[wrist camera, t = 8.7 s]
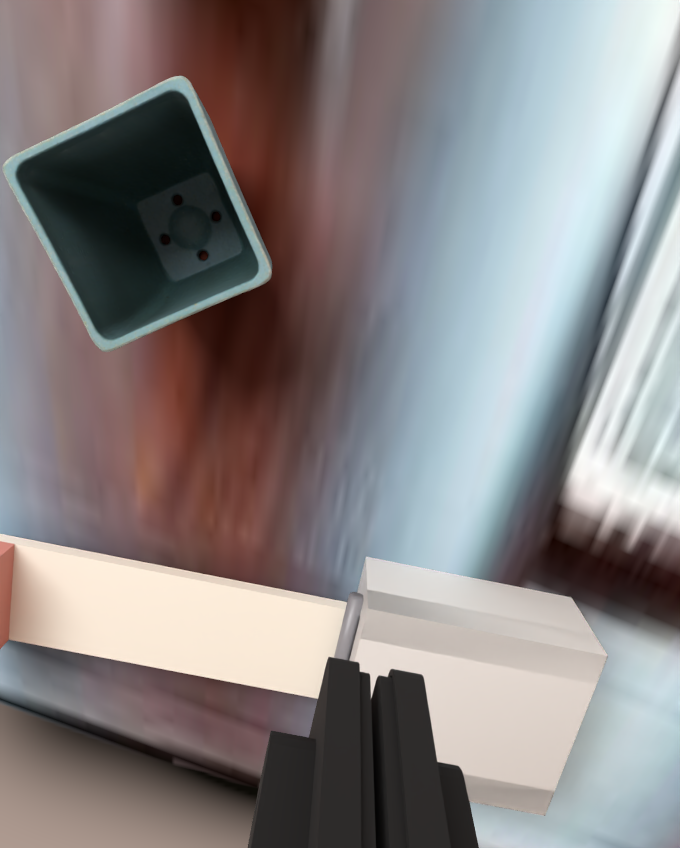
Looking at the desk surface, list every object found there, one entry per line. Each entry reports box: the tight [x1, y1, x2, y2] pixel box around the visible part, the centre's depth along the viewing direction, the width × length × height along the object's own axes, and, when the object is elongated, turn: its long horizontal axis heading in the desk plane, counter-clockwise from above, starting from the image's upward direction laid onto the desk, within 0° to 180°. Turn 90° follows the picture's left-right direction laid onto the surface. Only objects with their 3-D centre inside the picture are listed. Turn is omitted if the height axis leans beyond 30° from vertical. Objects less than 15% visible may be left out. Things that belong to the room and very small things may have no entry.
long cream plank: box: [0, 534, 347, 699], centre depth 36 cm, size 26×7×6 cm, turn 78°
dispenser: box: [334, 557, 608, 816], centre depth 38 cm, size 15×12×6 cm
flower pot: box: [3, 76, 272, 352], centre depth 30 cm, size 9×9×9 cm
